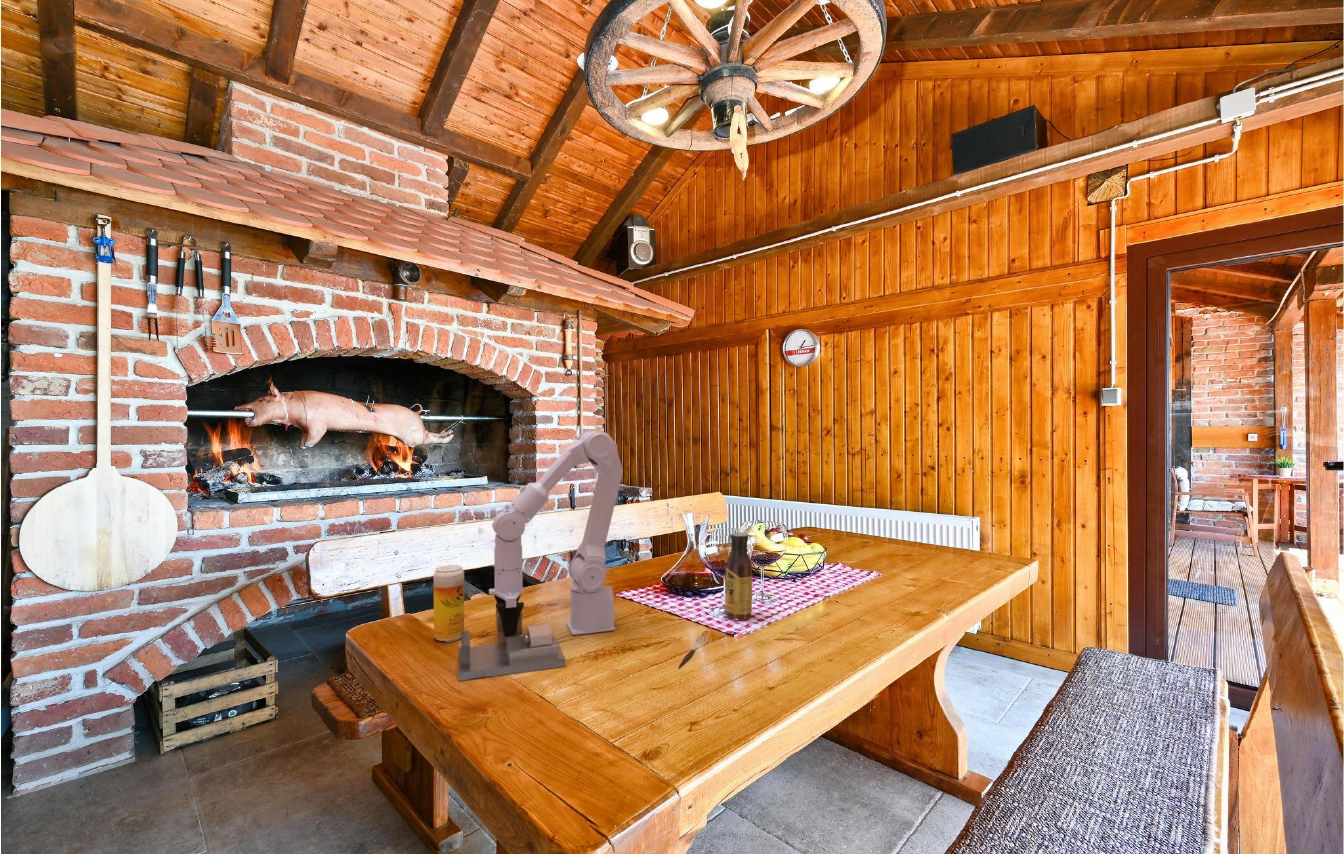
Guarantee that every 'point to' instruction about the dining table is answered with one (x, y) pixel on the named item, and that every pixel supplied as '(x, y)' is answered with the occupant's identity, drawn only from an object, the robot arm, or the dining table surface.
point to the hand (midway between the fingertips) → (508, 631)
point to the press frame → (505, 658)
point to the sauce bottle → (738, 579)
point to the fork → (693, 650)
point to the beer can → (448, 603)
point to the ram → (538, 636)
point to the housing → (499, 628)
